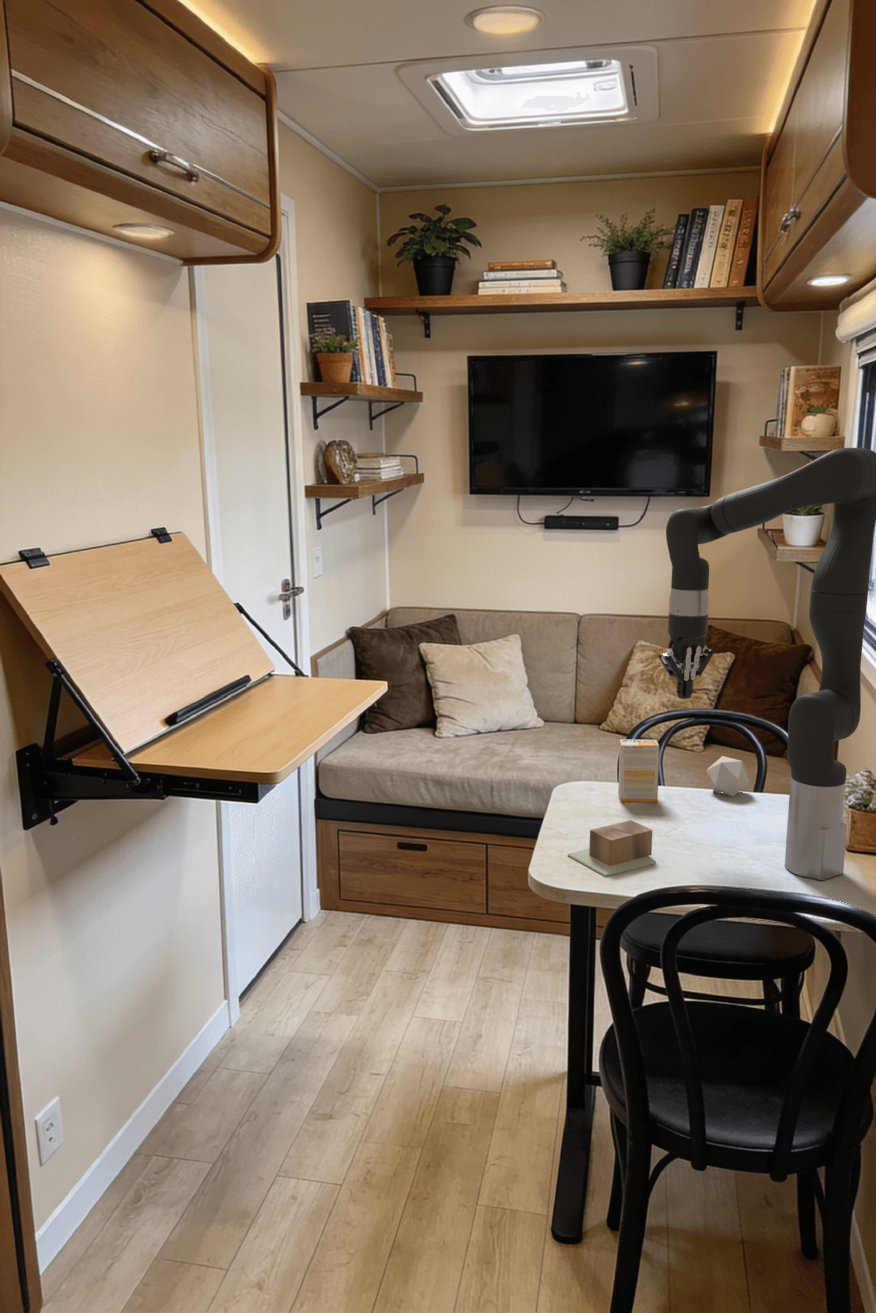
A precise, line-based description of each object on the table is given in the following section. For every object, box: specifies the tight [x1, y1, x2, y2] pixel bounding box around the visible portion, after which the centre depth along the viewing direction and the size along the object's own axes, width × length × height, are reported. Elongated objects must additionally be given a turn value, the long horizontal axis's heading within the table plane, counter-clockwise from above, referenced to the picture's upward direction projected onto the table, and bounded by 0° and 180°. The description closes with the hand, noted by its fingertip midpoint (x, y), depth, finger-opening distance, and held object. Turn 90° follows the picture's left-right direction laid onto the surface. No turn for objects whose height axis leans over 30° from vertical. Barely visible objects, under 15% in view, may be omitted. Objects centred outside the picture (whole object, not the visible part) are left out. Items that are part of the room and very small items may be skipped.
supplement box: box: [617, 738, 660, 803], centre depth 218 cm, size 8×5×13 cm, turn 84°
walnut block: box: [588, 819, 653, 866], centre depth 187 cm, size 6×5×10 cm
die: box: [705, 755, 750, 798], centre depth 222 cm, size 8×9×10 cm
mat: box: [567, 848, 657, 878], centre depth 186 cm, size 11×12×1 cm
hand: (684, 697), depth 197 cm, fingers closed
